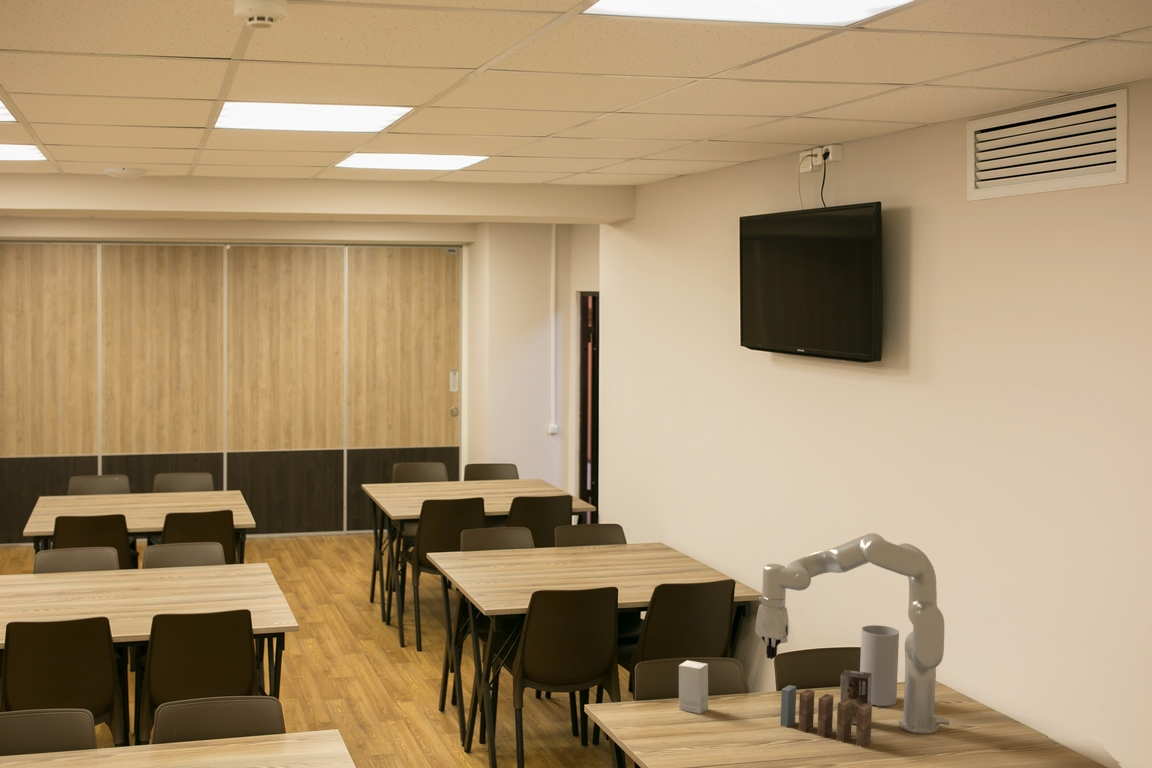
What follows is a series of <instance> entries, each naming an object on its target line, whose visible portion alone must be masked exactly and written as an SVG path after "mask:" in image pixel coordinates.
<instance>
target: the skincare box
mask: <svg viewBox="0 0 1152 768" xmlns="http://www.w3.org/2000/svg"><path fill="white" fill-rule="evenodd" d="M708 709H709V664H708V663H705V662H698V661H694V660H688V659H687V660H685V661H684V662H682V663H680V664H679V665H678V710H679V711H685V712H690V713H695V714H697V715H698V714H699V715H700V714H702V713H704V712H705V711H707V710H708Z"/></svg>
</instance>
